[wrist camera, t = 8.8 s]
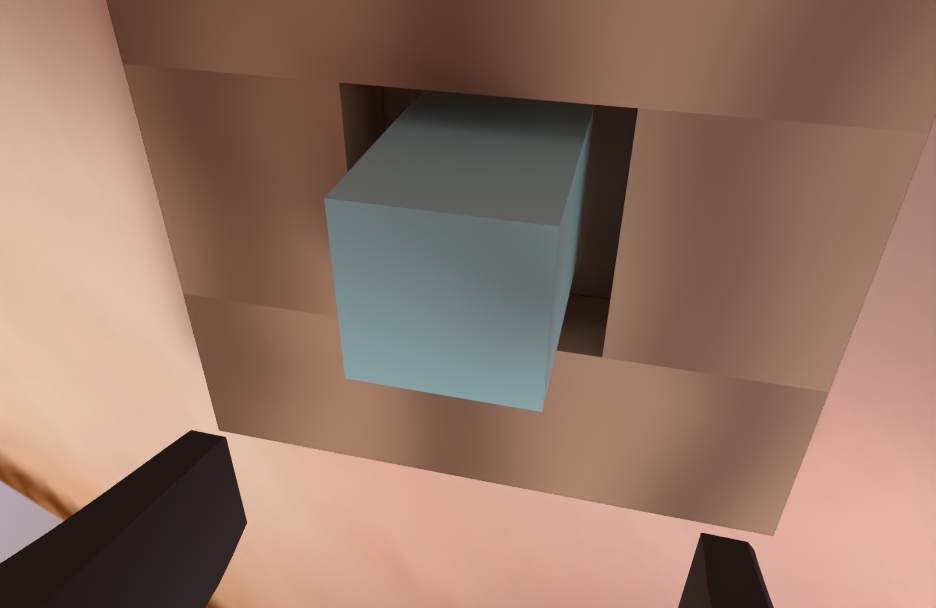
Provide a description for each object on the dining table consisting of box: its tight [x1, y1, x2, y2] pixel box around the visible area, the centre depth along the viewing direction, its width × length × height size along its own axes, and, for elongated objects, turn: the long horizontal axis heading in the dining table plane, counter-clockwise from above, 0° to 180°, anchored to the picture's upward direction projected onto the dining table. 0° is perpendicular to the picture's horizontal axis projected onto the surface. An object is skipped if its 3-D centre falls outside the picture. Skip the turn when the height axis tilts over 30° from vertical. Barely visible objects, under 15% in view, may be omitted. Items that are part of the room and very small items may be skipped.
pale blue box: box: [324, 90, 595, 412], centre depth 15 cm, size 4×4×6 cm
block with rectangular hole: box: [106, 0, 936, 536], centre depth 17 cm, size 16×16×2 cm
